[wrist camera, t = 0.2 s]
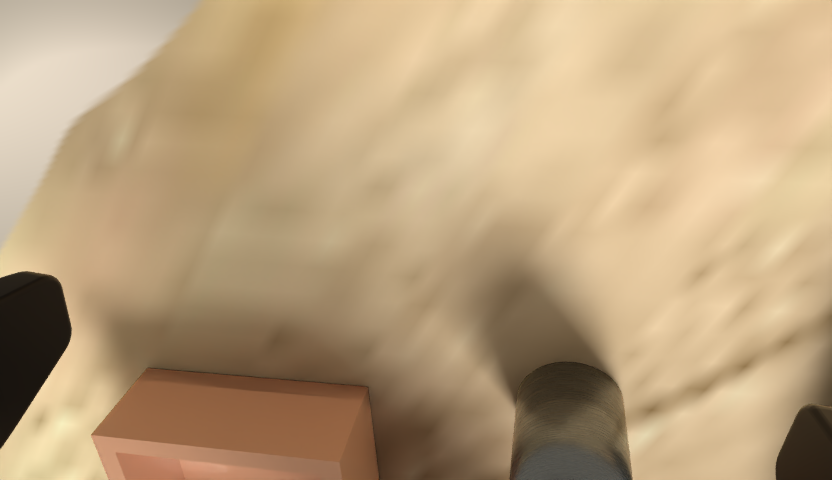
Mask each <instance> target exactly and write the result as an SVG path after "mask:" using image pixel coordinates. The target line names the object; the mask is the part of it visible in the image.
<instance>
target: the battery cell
mask: <svg viewBox="0 0 832 480" xmlns="http://www.w3.org/2000/svg"><path fill="white" fill-rule="evenodd" d="M510 480H633V479H632V470H631V462H630V453H629V444H628V436H627V427H626V419H625V410H624V402H623V396H622V393H621V391H620V389H619V387H618V386H617V384H616V383H615V382H614V381H613V380H612V379H611V378H610V377H609V376H608V375H606V374H605V373H603V372H602V371H600V370H598V369H596V368H594V367H591V366H588V365H585V364H581V363H574V362H559V363H553V364H549V365H545V366H543V367H540V368H538V369H536V370H535V371H533V372H532V373H530V374H529V375H528V376H527V377H526V378H525V379H524V380H523V382H522V383H521V385H520V387H519V389H518V393H517V401H516V412H515V424H514V435H513V447H512V458H511V470H510Z"/></svg>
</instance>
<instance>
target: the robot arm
mask: <svg viewBox="0 0 832 480" xmlns="http://www.w3.org/2000/svg"><path fill="white" fill-rule="evenodd" d="M71 331H72V328H71V323H70V319H69V314H68V310H67V306H66V302H65V298H64V293H63V289H62V286H61V283H60V282H59V281H58V279H57V278H55V277H53V276H51V275H47V274H41V273H35V272H28V271H25V272H18V273H15V274H11V275H8V276H5V277H1V278H0V449H1V448H2V446H3V445H4V443H5V442H6V440H7V439H8V438H9V436H10V435H11V433H12V432H13V430H14V429H15V427H16V426H17V424H18V423H19V421H20V419H21V418H22V416H23V415H24V413H25V412H26V410H27V409H28V407H29V406H30V404H31V402H32V401H33V399H34V398H35V396H36V395H37V393H38V392H39V390H40V389H41V387H42V385H43V384H44V382H45V381H46V379H47V378H48V376H49V375H50V373H51V372H52V370H53V368H54V367H55V365H56V364H57V362H58V361H59V359H60V358H61V356H62V354H63V353H64V351H65V350H66V348H67V346H68V344H69V342H70V338H71ZM776 480H832V407H828V406H822V405H817V404H808V405H805V406H803V407H802V408H801V409H800V410H799V412H798V413H797V415H796V417H795V420H794V422H793V424H792V426H791V428H790V431H789V433H788V435H787V437H786V439H785V441H784V444H783V446H782V448H781V450H780V452H779V455H778V458H777V462H776Z"/></svg>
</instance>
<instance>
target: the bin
mask: <svg viewBox="0 0 832 480" xmlns="http://www.w3.org/2000/svg"><path fill="white" fill-rule="evenodd" d="M91 437H92V439H93V442H94V444H95V447H96V449H97V451H98V454H99V456H100V459H101V461H102V464H103V466H104V469H105V471H106V474H107V476H108V479H109V480H379V473H378V465H377V457H376V448H375V440H374V432H373V424H372V416H371V408H370V400H369V392H368V387H363V386H351V385H339V384H328V383H316V382H304V381H293V380H281V379H269V378H257V377H246V376H234V375H222V374H210V373H199V372H187V371H175V370H164V369H152V368H147V369H146V370H145V371H144V372H143V374H142V375H141V376H140V377H139V378H138V380H137V381H136V382H135V383H134V384H133V386H132V387H131V388H130V389H129V390H128V391H127V393H126V394H125V395H124V396H123V397H122V399H121V400H120V401H119V402H118V403H117V405H116V406H115V407H114V408H113V409H112V411H111V412H110V413H109V414H108V415H107V416H106V418H105V419H104V420H103V421H102V422H101V424H100V425H99V426H98V427H97V428H96V430H95V431H94V432H93V433H92V434H91Z"/></svg>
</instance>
